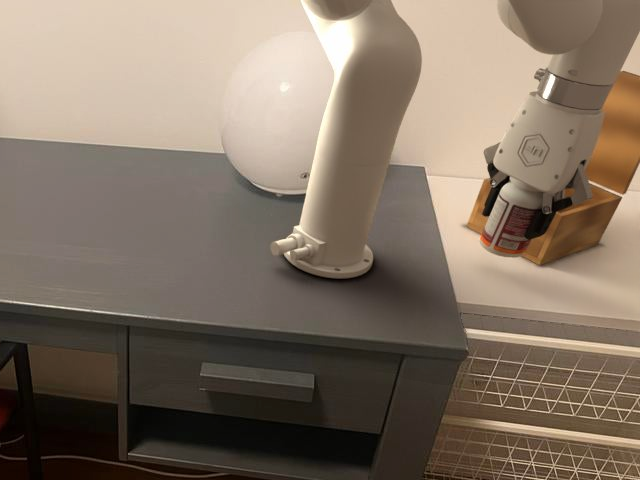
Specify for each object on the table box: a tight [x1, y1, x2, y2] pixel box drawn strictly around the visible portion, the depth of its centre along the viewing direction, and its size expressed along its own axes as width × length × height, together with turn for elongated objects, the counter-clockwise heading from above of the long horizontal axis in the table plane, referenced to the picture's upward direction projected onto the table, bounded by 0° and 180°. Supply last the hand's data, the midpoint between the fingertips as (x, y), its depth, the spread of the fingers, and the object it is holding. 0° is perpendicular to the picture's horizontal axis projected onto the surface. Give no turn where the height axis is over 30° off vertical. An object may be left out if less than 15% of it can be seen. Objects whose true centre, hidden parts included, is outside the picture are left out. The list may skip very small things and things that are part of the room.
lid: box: [585, 70, 640, 195], centre depth 108 cm, size 15×13×6 cm
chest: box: [466, 177, 623, 266], centre depth 112 cm, size 15×13×8 cm
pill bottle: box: [479, 176, 543, 258], centre depth 99 cm, size 6×6×11 cm
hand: (511, 224), depth 101 cm, fingers closed on pill bottle, 6 cm apart
